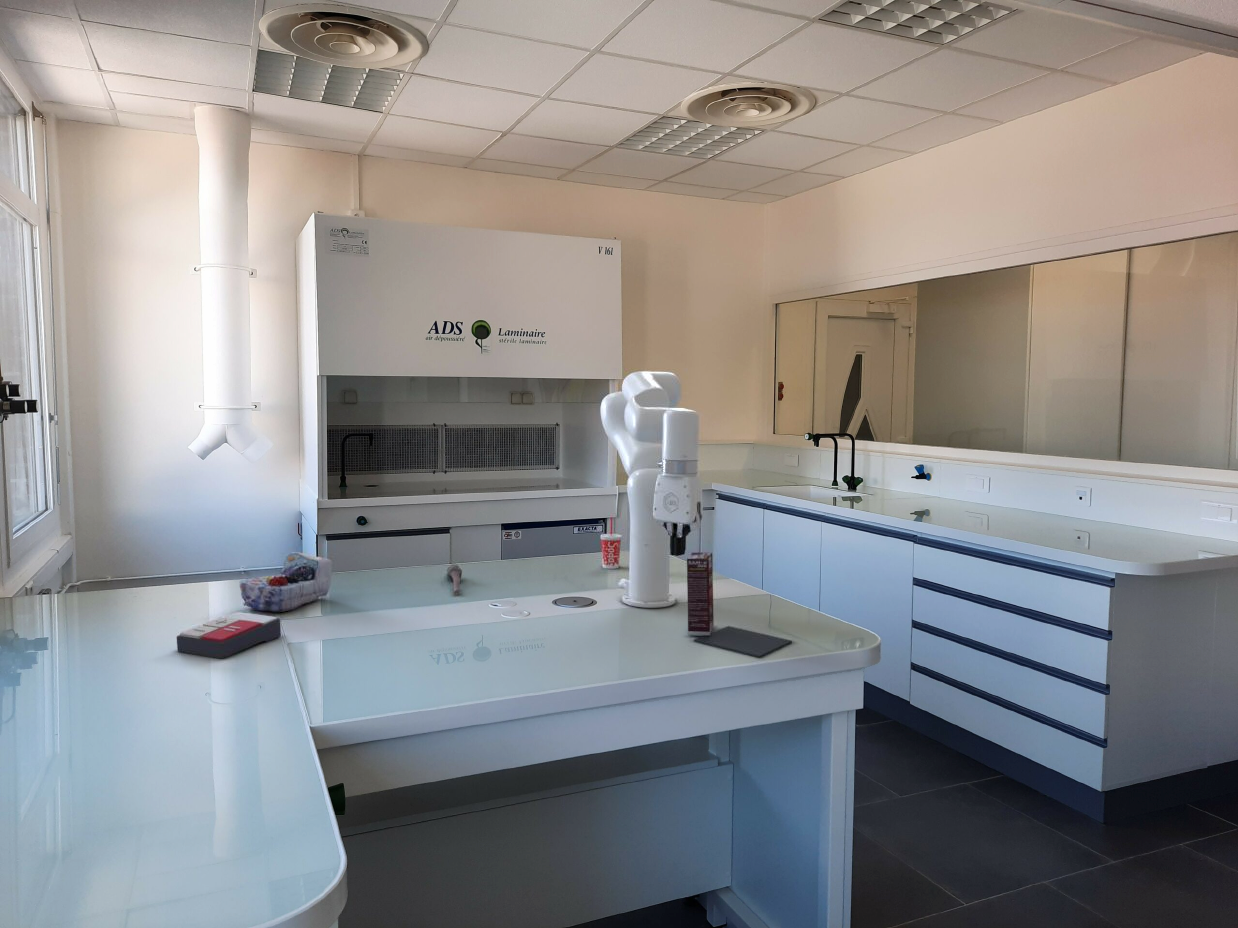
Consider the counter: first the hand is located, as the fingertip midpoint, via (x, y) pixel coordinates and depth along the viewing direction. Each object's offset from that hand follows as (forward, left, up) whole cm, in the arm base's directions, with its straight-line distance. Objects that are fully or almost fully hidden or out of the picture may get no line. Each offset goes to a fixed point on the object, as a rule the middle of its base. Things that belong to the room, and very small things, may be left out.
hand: (677, 554), depth 177 cm
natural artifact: (-63, -9, -16) cm, 65 cm away
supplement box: (+6, 0, -15) cm, 17 cm away
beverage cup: (-48, +35, -16) cm, 61 cm away
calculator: (-55, -69, -16) cm, 90 cm away
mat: (+16, 0, -16) cm, 23 cm away
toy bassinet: (-75, -47, -16) cm, 89 cm away
